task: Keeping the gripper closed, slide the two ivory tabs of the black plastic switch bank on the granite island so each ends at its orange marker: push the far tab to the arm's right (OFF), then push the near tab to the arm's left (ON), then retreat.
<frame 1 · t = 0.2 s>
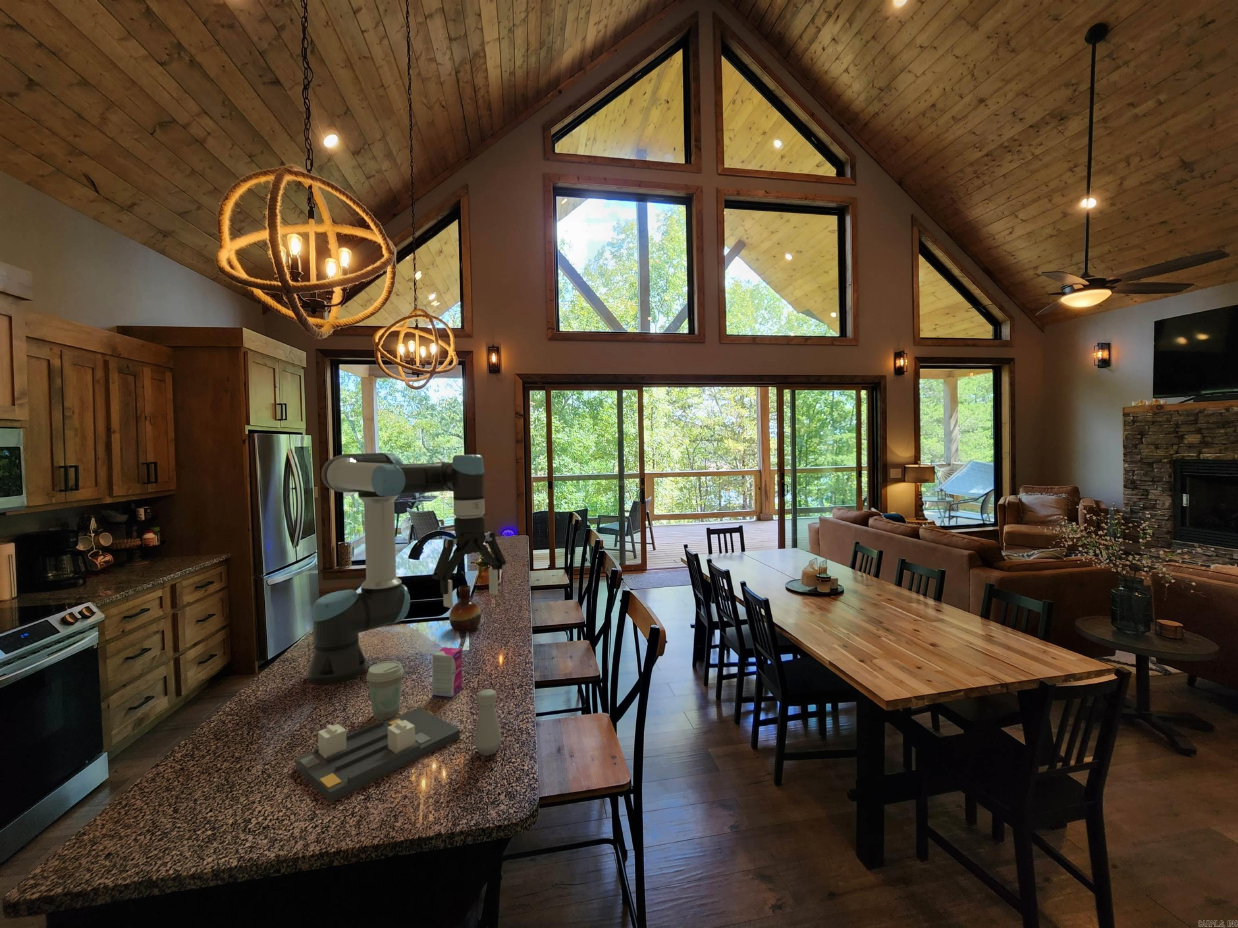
hand: (471, 600, 135), 28 cm above the kitchen island, fingers open, 13 cm apart
tab 1: (332, 739, 113), point 5 cm above the kitchen island, slide at 0.0 cm
vase: (465, 629, 195), on the kitchen island
salt shaker: (487, 750, 117), on the kitchen island
switch bank: (381, 752, 116), on the kitchen island
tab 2: (401, 735, 114), point 5 cm above the kitchen island, slide at 10.0 cm
supplement box: (447, 693, 144), on the kitchen island
coffee cup: (386, 714, 133), on the kitchen island
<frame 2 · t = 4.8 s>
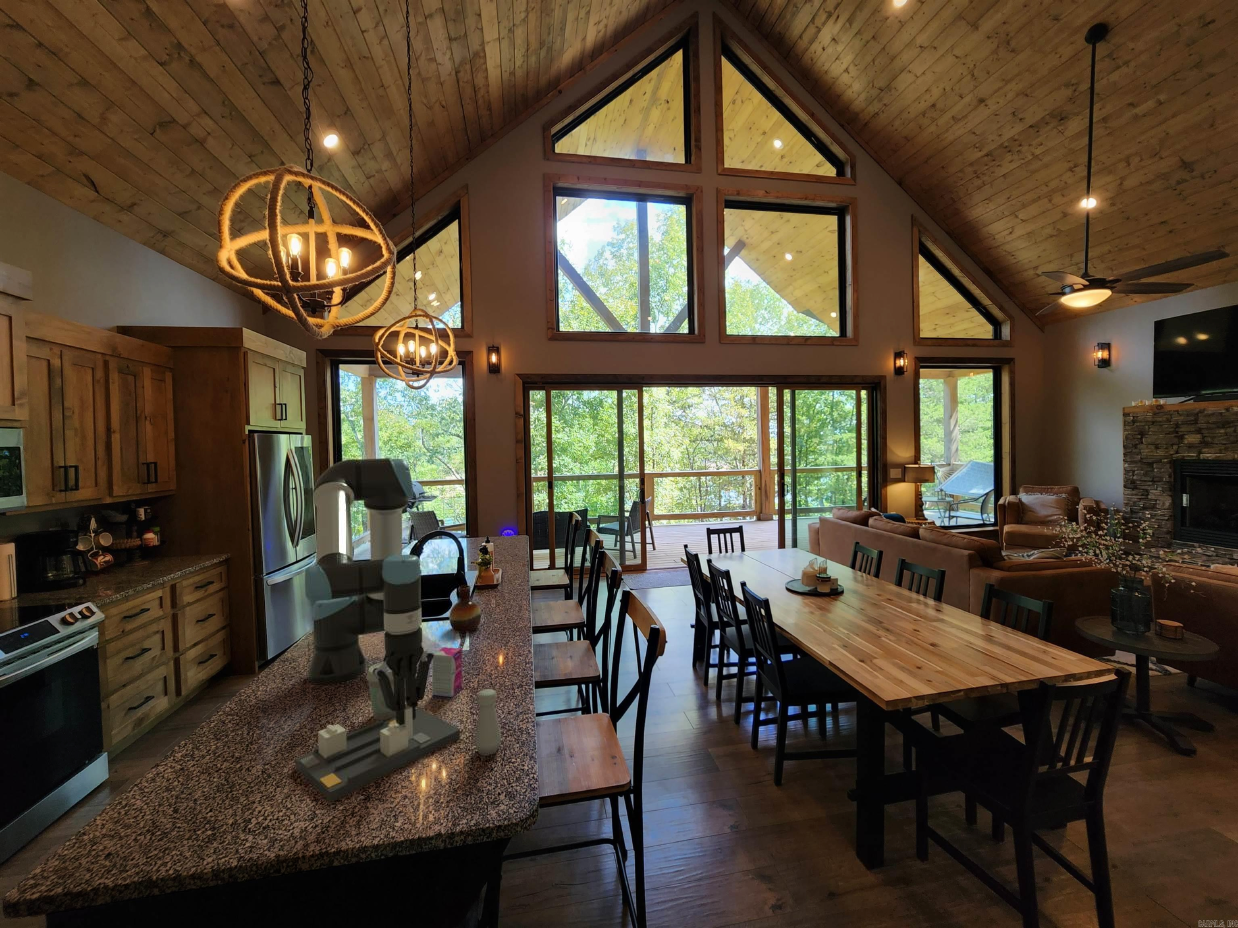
hand: (406, 736, 115), 4 cm above the kitchen island, fingers closed
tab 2: (394, 738, 113), point 5 cm above the kitchen island, slide at 8.4 cm, touching gripper
everything else where it was.
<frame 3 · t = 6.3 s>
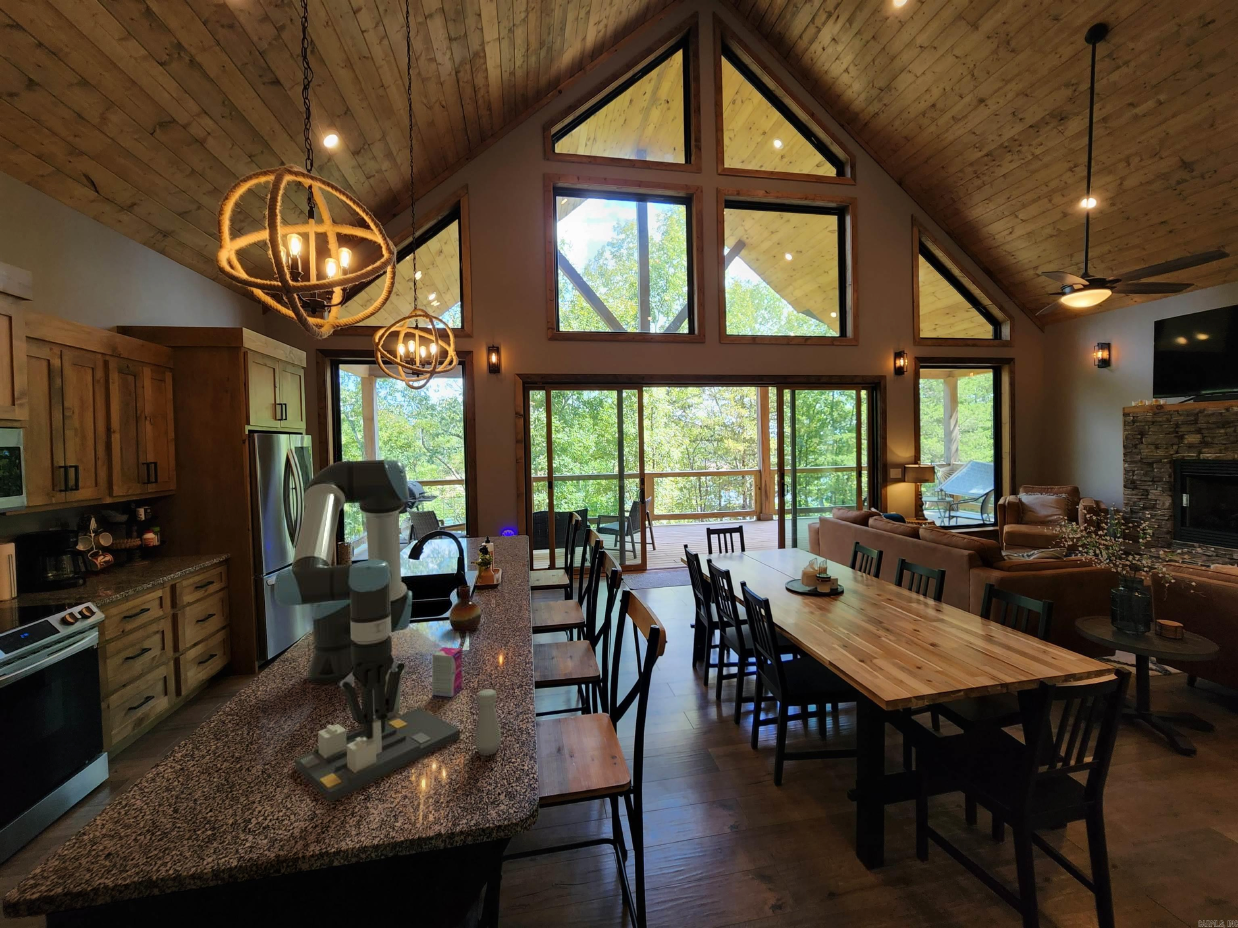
hand: (375, 750, 110), 4 cm above the kitchen island, fingers closed
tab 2: (361, 753, 108), point 5 cm above the kitchen island, slide at 1.5 cm, touching gripper
everything else where it was.
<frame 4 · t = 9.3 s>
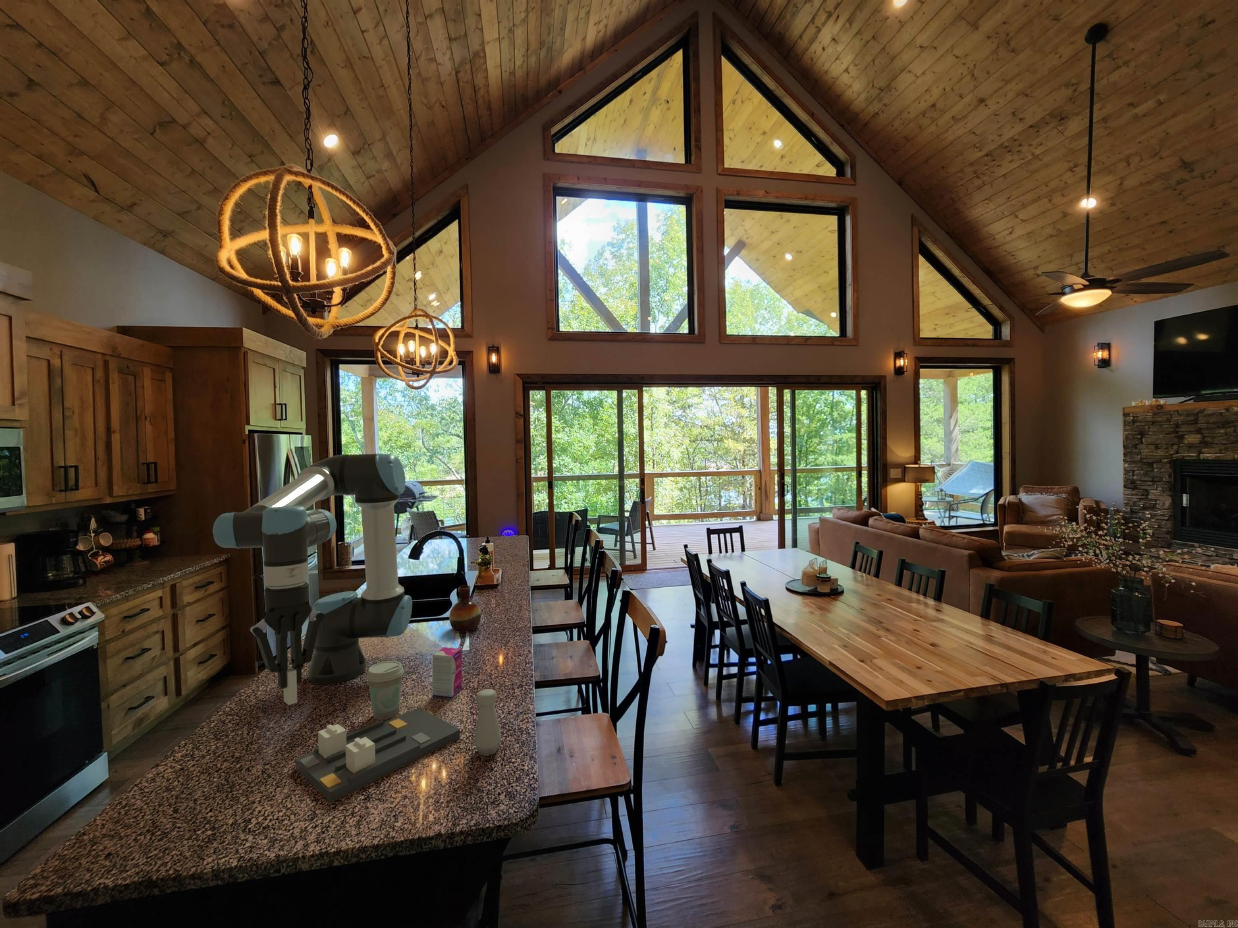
hand: (290, 701, 107), 16 cm above the kitchen island, fingers closed
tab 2: (360, 753, 108), point 5 cm above the kitchen island, slide at 1.3 cm
everything else where it was.
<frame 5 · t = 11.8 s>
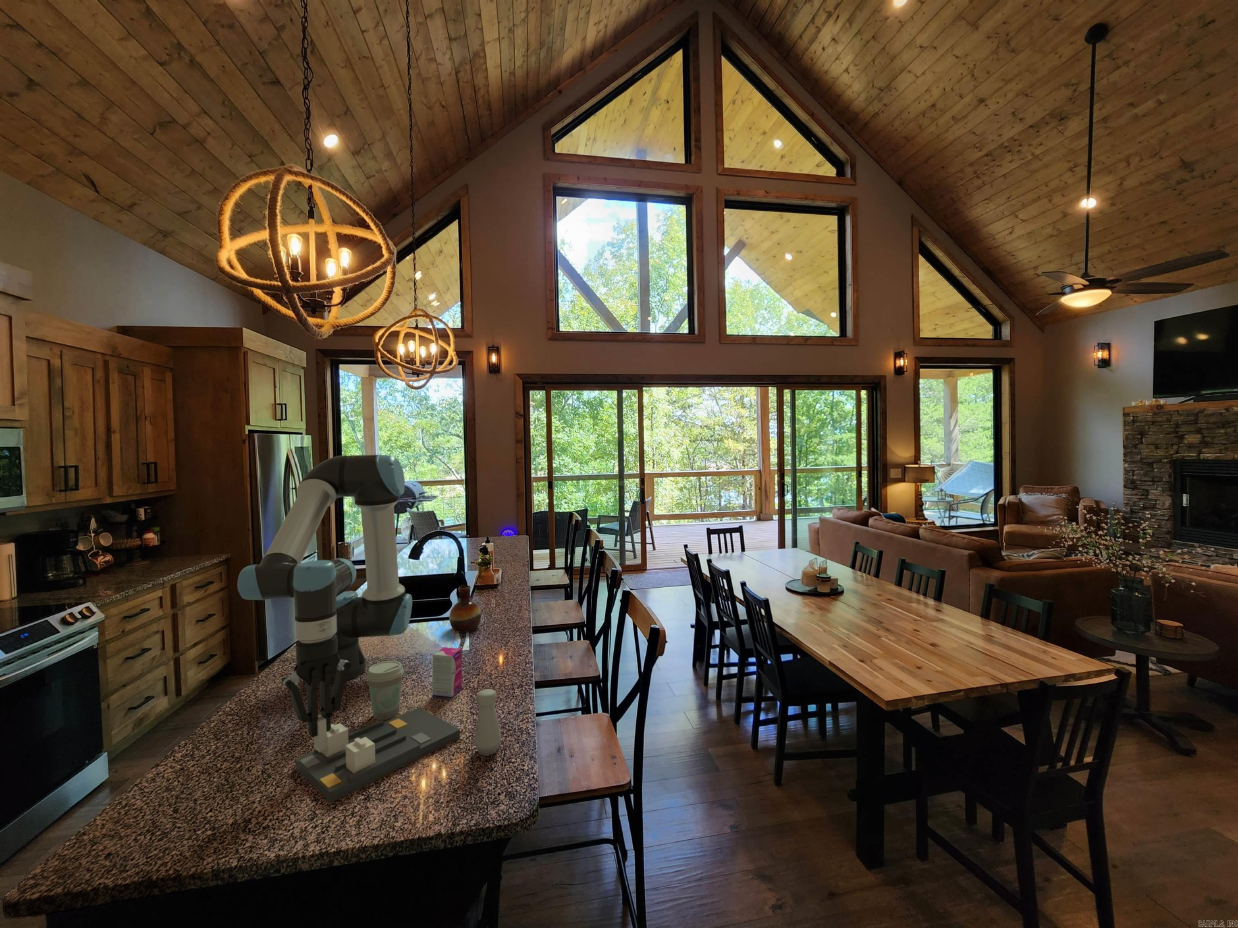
hand: (320, 748, 111), 4 cm above the kitchen island, fingers closed
tab 1: (334, 738, 113), point 5 cm above the kitchen island, slide at 0.4 cm, touching gripper
everything else where it was.
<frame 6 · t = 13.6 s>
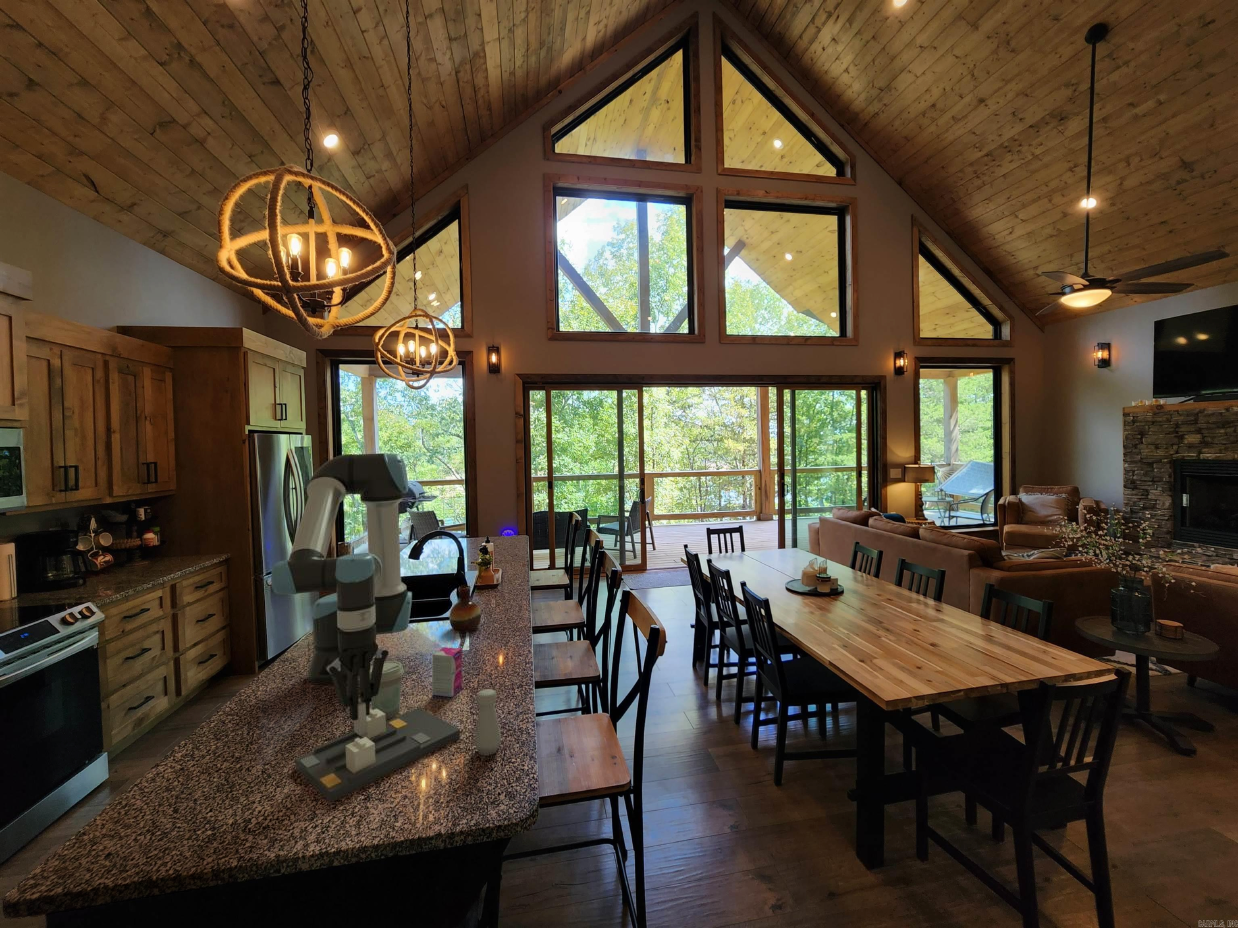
hand: (360, 731, 118), 4 cm above the kitchen island, fingers closed
tab 1: (372, 722, 120), point 5 cm above the kitchen island, slide at 8.6 cm, touching gripper
everything else where it was.
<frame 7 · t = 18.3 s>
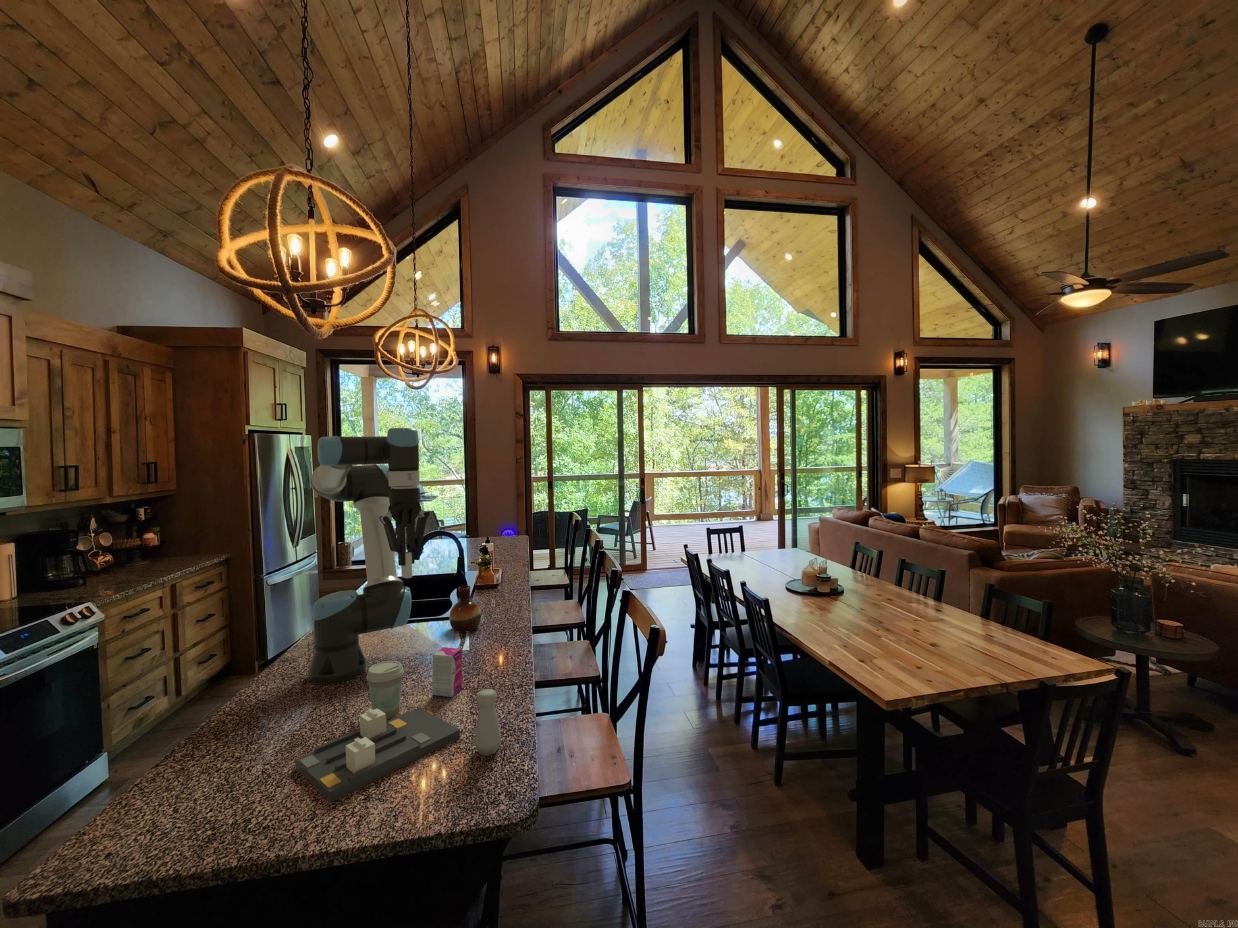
hand: (406, 576, 140), 32 cm above the kitchen island, fingers closed
tab 1: (373, 722, 120), point 5 cm above the kitchen island, slide at 8.7 cm
everything else where it was.
at the end: tab 1 slide at 8.7 cm; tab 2 slide at 1.3 cm; tab 1 touching nothing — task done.
